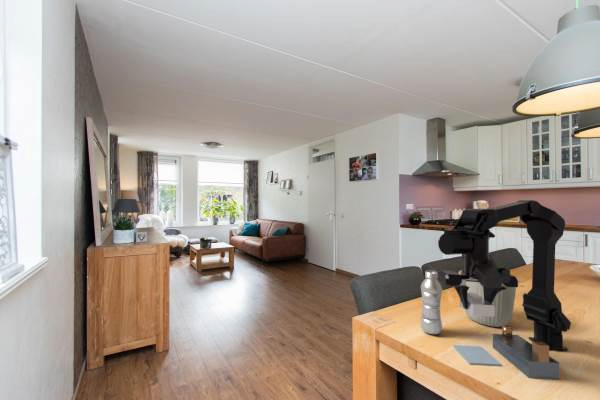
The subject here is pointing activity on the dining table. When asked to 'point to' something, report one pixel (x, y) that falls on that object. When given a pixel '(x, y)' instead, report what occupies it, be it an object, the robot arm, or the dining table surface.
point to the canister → (501, 302)
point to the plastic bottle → (431, 303)
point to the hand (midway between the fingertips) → (476, 309)
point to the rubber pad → (476, 355)
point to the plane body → (526, 355)
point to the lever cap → (479, 306)
